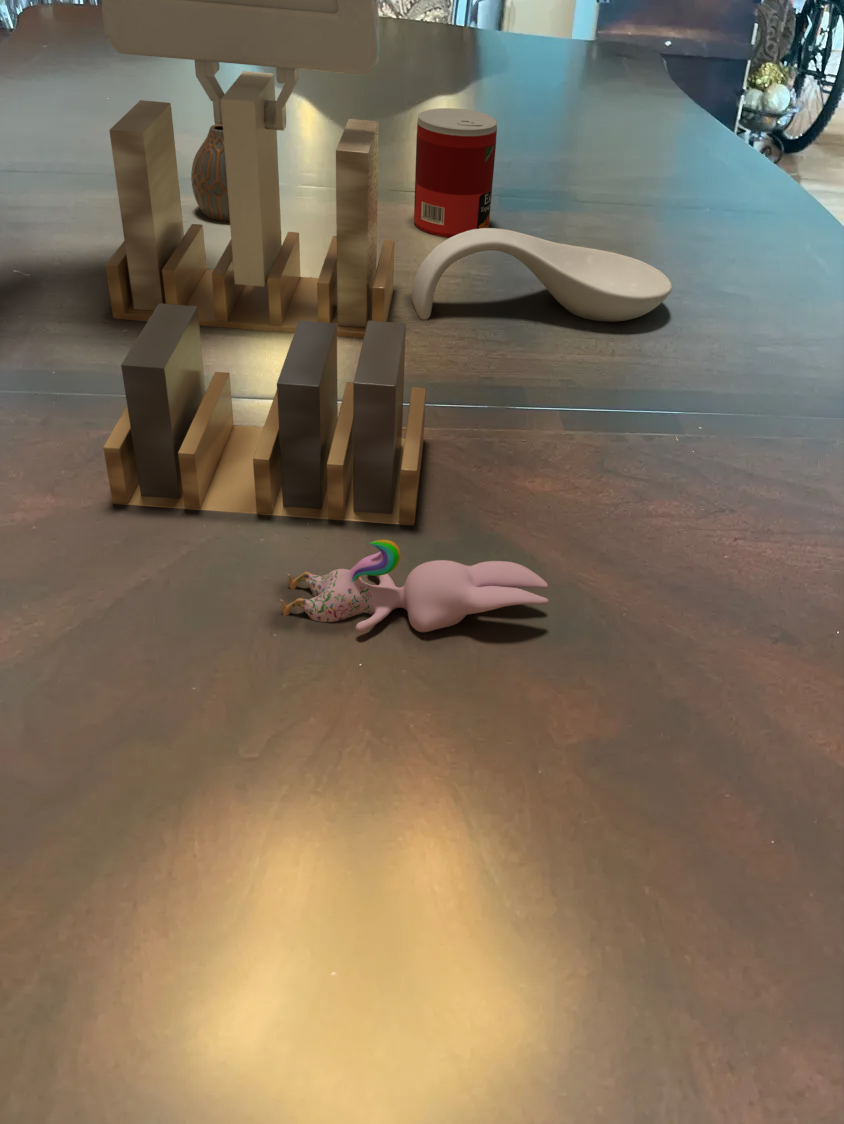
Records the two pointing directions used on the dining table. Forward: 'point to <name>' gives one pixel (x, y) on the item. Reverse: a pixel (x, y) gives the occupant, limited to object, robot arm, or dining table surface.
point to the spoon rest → (555, 274)
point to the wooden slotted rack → (180, 262)
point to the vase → (211, 176)
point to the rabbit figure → (416, 590)
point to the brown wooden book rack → (268, 429)
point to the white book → (251, 178)
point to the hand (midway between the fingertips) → (250, 126)
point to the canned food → (454, 170)
